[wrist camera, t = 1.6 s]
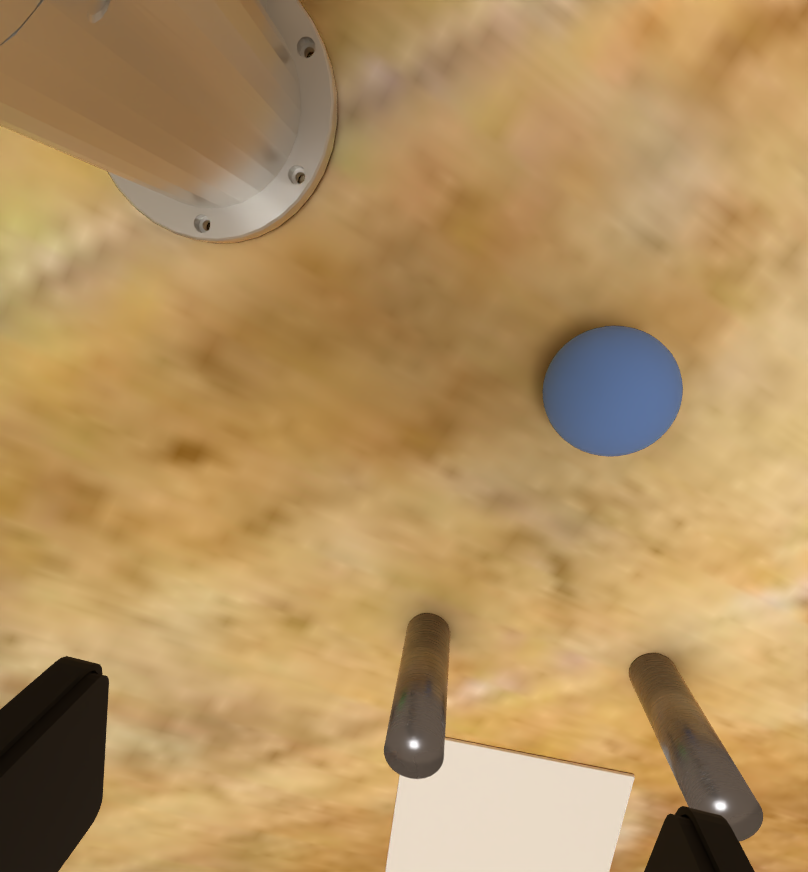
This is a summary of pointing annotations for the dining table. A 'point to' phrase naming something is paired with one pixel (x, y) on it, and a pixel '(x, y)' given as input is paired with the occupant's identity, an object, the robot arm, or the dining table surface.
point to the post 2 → (693, 746)
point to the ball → (612, 391)
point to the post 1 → (420, 700)
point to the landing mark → (507, 814)
